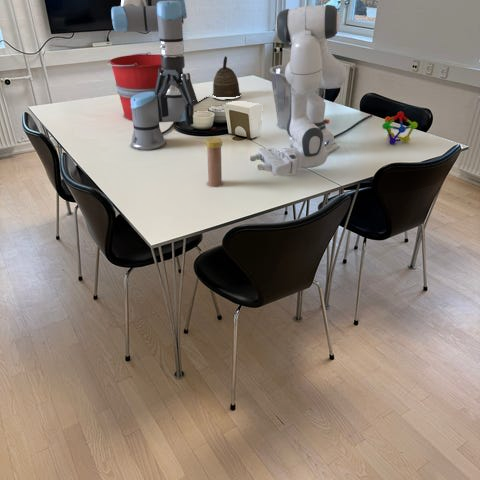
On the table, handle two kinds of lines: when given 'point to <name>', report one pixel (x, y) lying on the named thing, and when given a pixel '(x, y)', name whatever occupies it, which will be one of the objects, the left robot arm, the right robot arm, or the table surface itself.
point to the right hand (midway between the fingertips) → (254, 163)
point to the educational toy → (398, 128)
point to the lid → (214, 142)
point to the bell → (225, 82)
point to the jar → (214, 166)
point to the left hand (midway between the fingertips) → (177, 120)
